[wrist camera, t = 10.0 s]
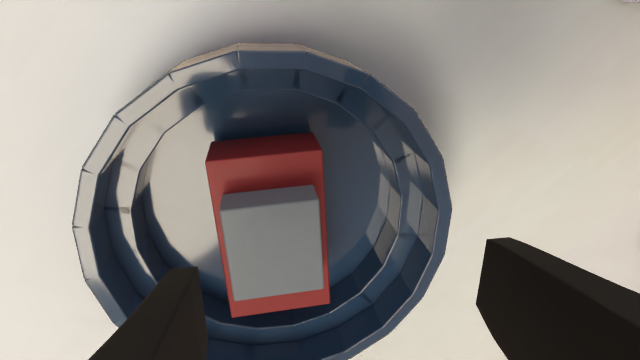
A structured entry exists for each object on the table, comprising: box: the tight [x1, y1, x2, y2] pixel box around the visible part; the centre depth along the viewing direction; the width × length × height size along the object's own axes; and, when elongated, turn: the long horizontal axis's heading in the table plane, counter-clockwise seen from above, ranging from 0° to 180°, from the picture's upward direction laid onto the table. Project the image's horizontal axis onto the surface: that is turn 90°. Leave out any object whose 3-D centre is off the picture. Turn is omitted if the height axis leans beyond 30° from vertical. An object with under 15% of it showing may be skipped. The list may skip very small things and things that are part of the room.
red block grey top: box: [205, 132, 330, 318], centre depth 17 cm, size 4×7×4 cm, turn 3°
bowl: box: [72, 43, 452, 360], centre depth 18 cm, size 14×14×4 cm
